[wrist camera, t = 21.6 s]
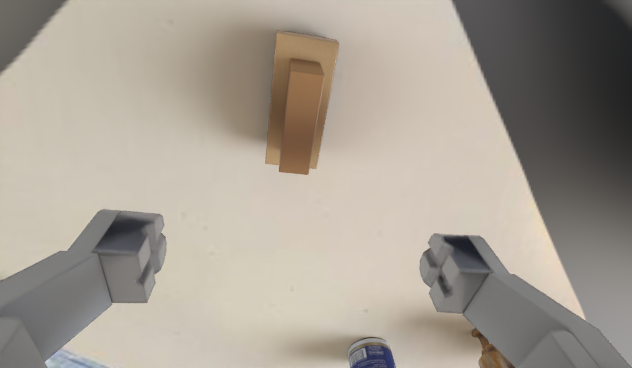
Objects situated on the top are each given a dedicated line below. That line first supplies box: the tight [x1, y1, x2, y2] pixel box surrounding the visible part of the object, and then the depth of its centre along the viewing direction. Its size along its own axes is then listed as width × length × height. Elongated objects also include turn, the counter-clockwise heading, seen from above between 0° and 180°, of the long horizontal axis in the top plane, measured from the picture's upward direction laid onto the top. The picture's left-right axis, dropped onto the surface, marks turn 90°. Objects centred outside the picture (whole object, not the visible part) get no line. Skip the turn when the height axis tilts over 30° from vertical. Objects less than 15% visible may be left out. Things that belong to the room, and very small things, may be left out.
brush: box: [265, 30, 339, 175], centre depth 20 cm, size 8×4×6 cm, turn 171°
